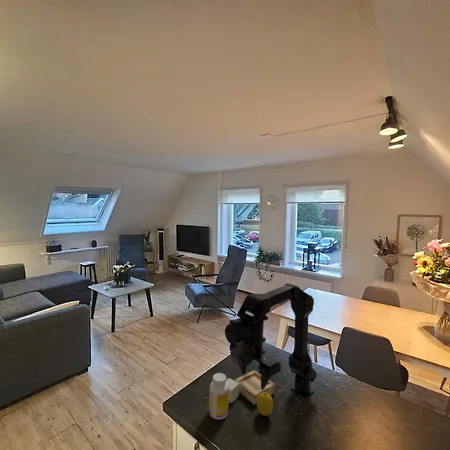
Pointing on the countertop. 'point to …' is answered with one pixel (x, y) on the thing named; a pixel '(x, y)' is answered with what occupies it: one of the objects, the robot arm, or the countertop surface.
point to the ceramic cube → (232, 390)
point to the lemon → (265, 403)
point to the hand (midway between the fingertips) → (252, 381)
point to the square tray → (253, 386)
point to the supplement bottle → (218, 397)
